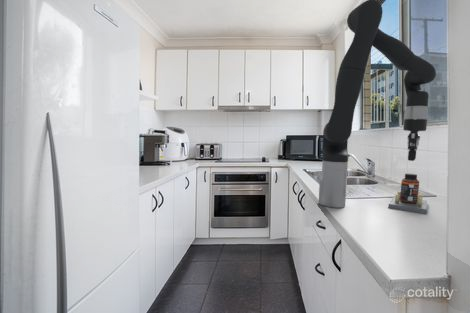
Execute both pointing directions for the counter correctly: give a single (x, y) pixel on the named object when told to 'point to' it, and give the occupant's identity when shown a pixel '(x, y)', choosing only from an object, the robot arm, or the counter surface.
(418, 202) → the plate
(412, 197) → the supplement bottle
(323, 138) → the robot arm
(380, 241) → the counter surface
